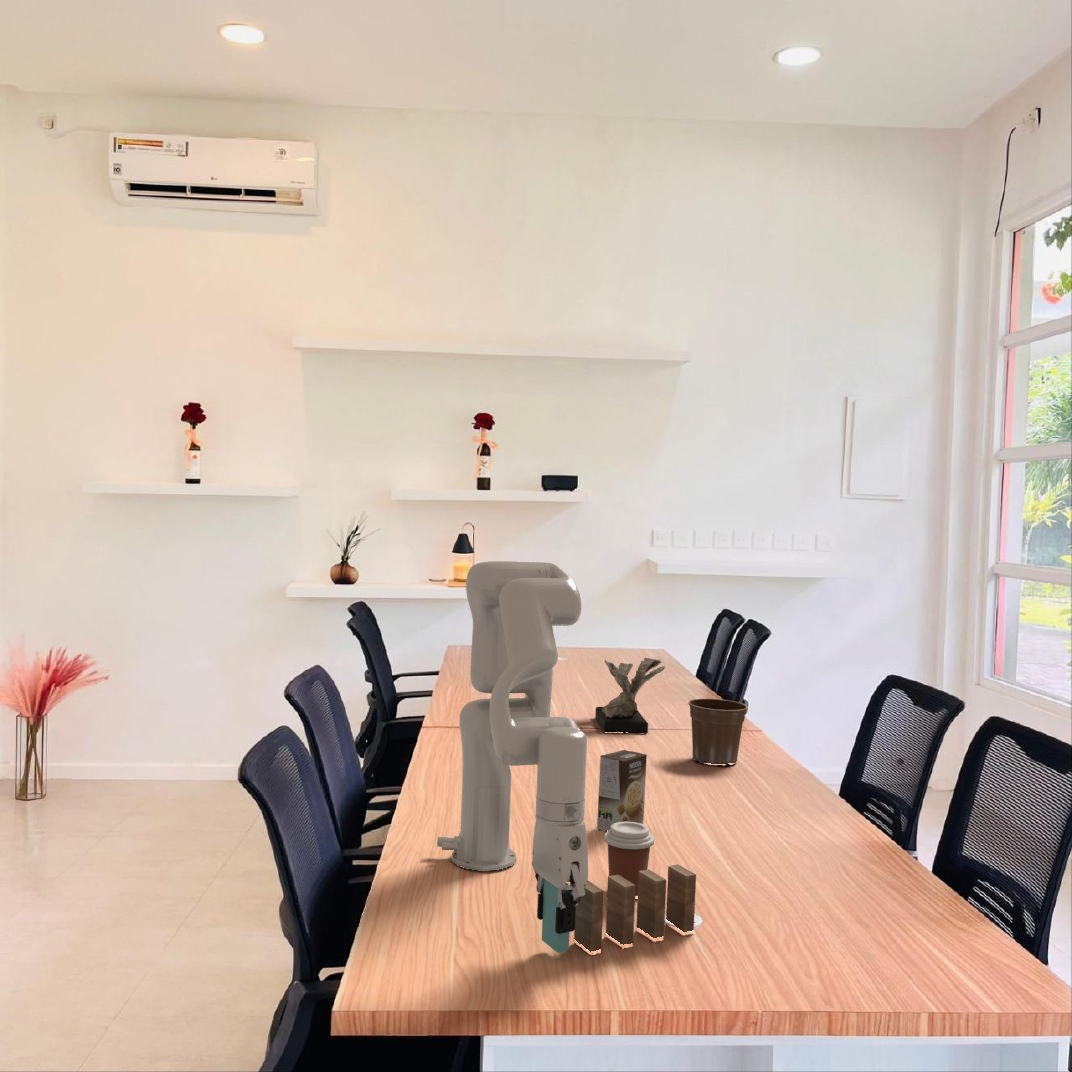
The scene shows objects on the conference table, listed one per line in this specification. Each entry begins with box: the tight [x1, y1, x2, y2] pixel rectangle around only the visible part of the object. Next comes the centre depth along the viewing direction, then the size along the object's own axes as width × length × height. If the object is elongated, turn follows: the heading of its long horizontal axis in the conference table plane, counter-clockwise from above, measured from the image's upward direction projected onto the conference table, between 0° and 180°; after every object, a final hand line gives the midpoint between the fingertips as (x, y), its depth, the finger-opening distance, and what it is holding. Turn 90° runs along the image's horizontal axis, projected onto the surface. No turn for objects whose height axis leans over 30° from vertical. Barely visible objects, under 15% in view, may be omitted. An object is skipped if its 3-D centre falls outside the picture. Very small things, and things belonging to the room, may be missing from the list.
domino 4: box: [665, 864, 697, 932], centre depth 170 cm, size 2×5×10 cm, turn 29°
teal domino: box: [541, 879, 570, 954], centre depth 159 cm, size 2×5×10 cm, turn 28°
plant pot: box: [687, 698, 749, 764], centre depth 283 cm, size 16×16×16 cm
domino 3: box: [635, 868, 667, 938], centre depth 167 cm, size 2×5×10 cm, turn 29°
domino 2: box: [605, 875, 636, 945], centre depth 164 cm, size 2×5×10 cm, turn 29°
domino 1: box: [573, 880, 605, 952], centre depth 162 cm, size 2×5×10 cm, turn 29°
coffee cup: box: [603, 822, 655, 896], centre depth 185 cm, size 9×9×12 cm
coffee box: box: [596, 749, 648, 831], centre depth 222 cm, size 9×6×16 cm
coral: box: [594, 657, 666, 734], centre depth 326 cm, size 25×20×21 cm
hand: (555, 923), depth 159 cm, fingers closed on teal domino, 4 cm apart
